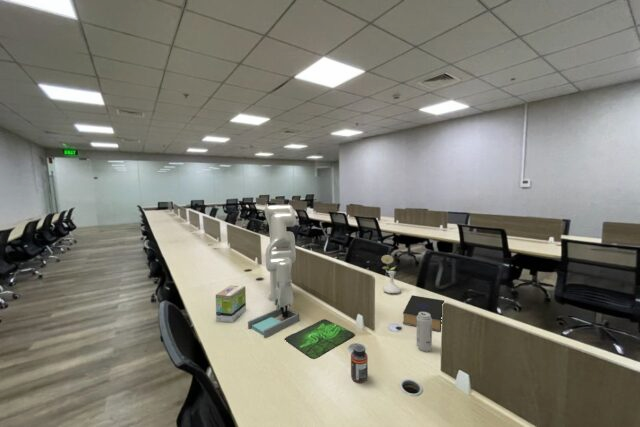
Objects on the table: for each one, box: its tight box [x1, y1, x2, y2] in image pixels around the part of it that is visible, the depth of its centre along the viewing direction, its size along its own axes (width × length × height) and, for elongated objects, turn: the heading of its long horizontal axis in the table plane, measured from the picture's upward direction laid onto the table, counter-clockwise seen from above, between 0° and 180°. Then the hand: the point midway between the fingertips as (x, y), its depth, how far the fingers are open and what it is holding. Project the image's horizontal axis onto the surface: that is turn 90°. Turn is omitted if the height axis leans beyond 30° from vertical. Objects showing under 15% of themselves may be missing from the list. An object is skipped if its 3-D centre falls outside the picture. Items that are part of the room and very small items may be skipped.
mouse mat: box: [284, 318, 356, 360], centre depth 123 cm, size 27×22×1 cm
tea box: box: [215, 285, 247, 323], centre depth 146 cm, size 15×10×15 cm, turn 168°
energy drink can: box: [415, 312, 433, 353], centre depth 112 cm, size 6×6×15 cm
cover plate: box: [251, 317, 282, 336], centre depth 133 cm, size 12×10×2 cm
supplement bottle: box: [350, 344, 369, 384], centre depth 95 cm, size 6×6×11 cm
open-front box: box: [247, 308, 300, 339], centre depth 136 cm, size 22×14×4 cm, turn 138°
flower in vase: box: [380, 254, 402, 294], centre depth 176 cm, size 13×11×25 cm
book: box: [402, 295, 445, 332], centre depth 140 cm, size 17×25×7 cm
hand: (285, 317), depth 141 cm, fingers closed
